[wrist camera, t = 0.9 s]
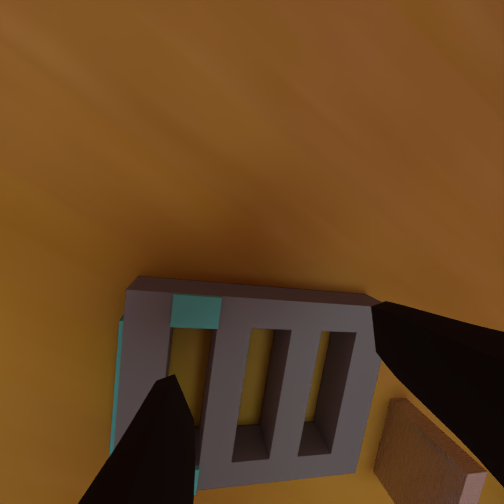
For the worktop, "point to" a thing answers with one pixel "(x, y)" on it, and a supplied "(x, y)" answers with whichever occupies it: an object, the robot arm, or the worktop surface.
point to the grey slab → (424, 461)
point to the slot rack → (233, 370)
